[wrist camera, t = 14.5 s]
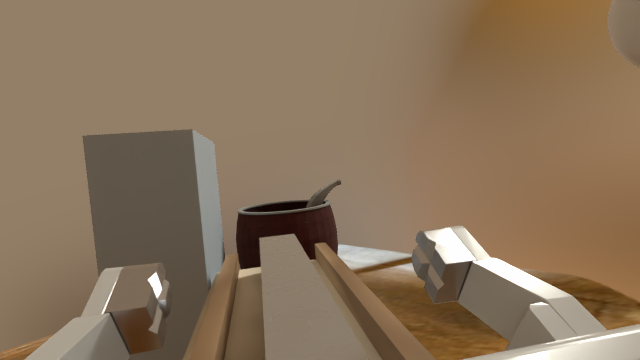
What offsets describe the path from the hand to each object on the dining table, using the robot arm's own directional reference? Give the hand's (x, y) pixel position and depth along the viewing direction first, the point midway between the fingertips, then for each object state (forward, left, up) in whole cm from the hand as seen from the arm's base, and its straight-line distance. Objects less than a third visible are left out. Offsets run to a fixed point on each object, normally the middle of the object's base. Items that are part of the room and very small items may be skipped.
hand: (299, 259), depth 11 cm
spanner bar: (0, -8, -6) cm, 10 cm away
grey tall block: (+10, -25, -19) cm, 33 cm away
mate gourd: (-3, -36, -20) cm, 41 cm away
